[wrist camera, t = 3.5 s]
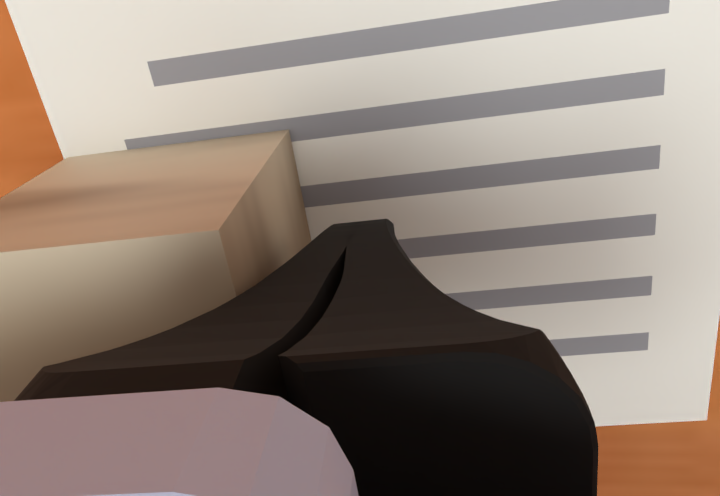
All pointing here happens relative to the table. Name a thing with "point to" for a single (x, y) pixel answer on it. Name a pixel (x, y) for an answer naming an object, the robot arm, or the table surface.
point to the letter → (454, 149)
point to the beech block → (139, 244)
